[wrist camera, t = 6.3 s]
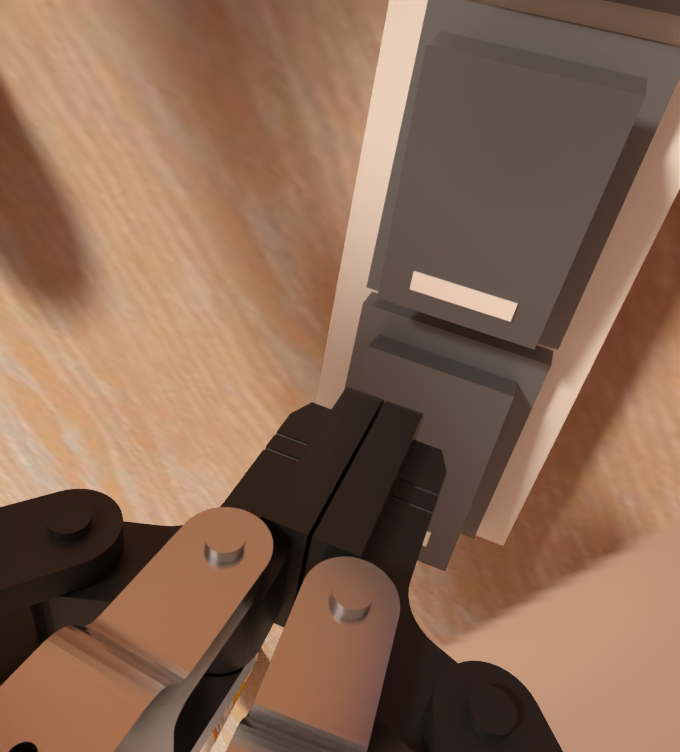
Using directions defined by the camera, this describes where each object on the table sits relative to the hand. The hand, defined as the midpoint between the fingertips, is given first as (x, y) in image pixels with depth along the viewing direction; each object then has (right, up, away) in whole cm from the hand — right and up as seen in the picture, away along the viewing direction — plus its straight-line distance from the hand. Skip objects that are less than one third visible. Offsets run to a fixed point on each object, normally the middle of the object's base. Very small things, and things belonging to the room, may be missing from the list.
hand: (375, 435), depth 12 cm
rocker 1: (+3, +6, +5) cm, 8 cm away
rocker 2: (+2, -2, +10) cm, 10 cm away
